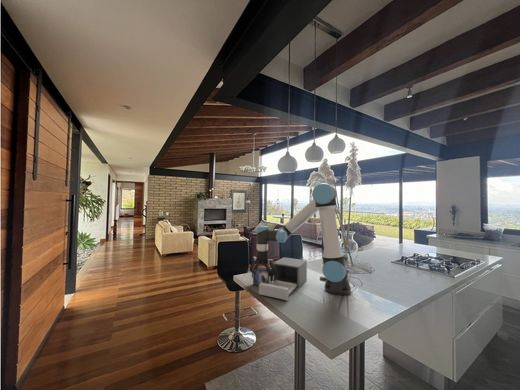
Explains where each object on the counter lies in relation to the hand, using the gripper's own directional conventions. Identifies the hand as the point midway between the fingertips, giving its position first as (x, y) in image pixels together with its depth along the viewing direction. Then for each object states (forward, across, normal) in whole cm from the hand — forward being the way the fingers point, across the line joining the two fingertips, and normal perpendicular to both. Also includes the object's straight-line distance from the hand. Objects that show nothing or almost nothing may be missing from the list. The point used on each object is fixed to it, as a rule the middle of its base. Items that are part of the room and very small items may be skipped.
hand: (262, 284), depth 141 cm
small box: (+1, 0, 0) cm, 1 cm away
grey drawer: (-1, -14, +5) cm, 15 cm away
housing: (+1, -14, -14) cm, 20 cm away
